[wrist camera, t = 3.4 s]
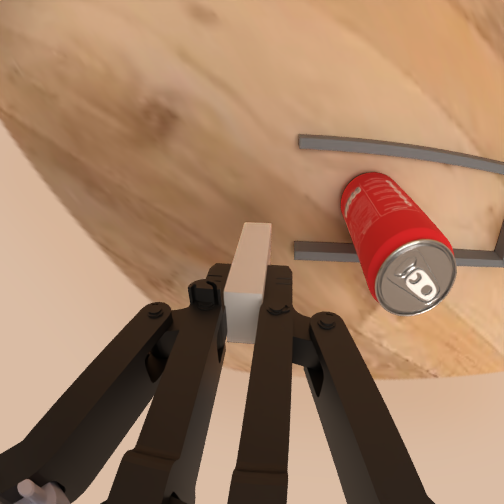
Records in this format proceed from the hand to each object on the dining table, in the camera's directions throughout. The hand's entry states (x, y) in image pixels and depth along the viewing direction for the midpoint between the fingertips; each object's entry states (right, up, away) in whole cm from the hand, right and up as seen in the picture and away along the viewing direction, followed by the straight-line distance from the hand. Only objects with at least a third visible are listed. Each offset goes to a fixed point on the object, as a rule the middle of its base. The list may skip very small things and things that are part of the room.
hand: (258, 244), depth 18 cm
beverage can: (+9, +4, +7) cm, 12 cm away
